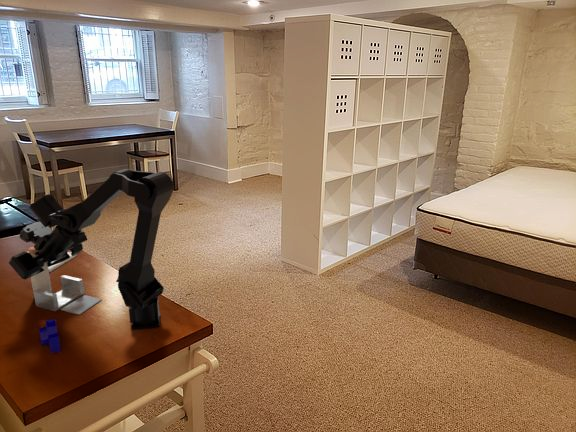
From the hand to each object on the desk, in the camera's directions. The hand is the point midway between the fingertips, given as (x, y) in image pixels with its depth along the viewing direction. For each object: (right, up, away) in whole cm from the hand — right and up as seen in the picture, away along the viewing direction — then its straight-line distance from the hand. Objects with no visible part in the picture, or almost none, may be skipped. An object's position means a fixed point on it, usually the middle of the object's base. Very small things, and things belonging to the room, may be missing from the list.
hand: (35, 270), depth 117 cm
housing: (+7, -8, 0) cm, 11 cm away
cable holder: (+14, -15, -18) cm, 27 cm away
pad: (+14, -9, -2) cm, 17 cm away
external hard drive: (-7, -1, +22) cm, 23 cm away
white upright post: (+1, -6, +2) cm, 7 cm away
